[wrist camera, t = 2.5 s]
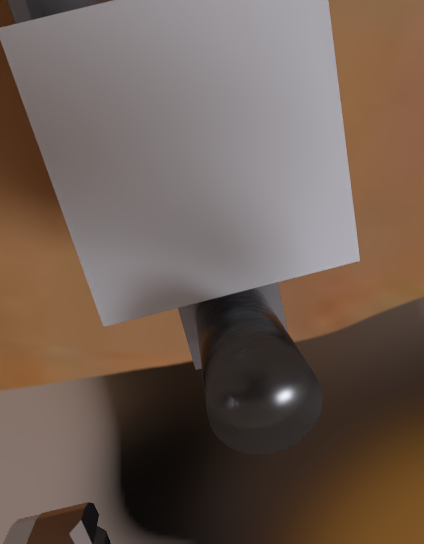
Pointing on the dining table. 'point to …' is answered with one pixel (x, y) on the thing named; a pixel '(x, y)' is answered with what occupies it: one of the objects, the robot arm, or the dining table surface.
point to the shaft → (251, 369)
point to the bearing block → (190, 144)
